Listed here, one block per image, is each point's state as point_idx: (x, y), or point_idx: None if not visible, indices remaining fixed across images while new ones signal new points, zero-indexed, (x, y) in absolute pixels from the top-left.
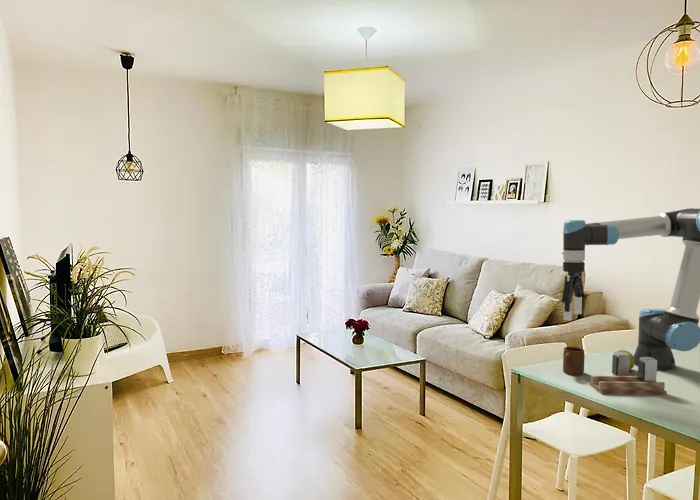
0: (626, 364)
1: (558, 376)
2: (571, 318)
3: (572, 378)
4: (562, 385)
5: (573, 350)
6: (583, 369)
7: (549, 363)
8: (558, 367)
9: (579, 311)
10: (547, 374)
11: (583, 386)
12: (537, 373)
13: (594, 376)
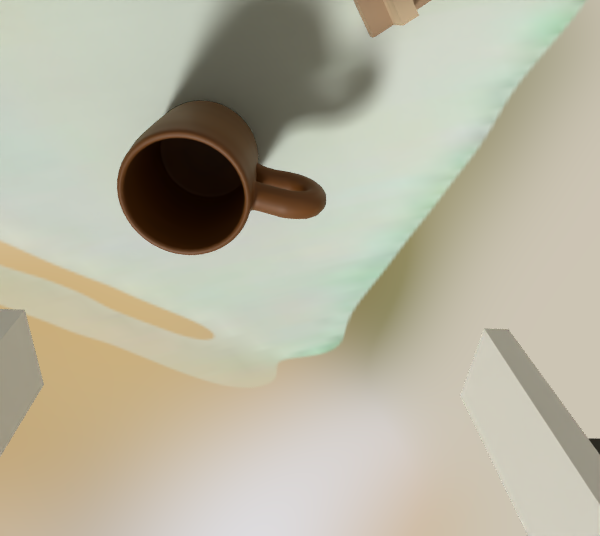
0: None
1: None
2: (507, 345)
3: (309, 136)
4: (445, 156)
5: (133, 202)
6: (206, 104)
7: (127, 279)
8: None
9: (12, 354)
10: (310, 247)
11: (417, 60)
12: (319, 284)
13: (410, 4)
